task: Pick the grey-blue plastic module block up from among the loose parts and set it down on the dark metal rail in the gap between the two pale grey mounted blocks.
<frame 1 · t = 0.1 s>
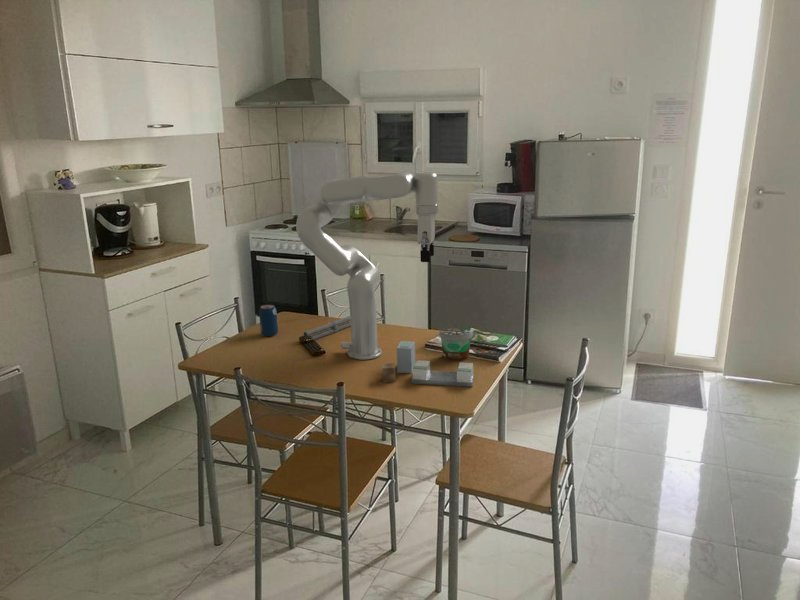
hand: (427, 258, 227), 37 cm above the table, tool pointing down, fingers open, 9 cm apart
rail: (443, 380, 217), on the table
soda can: (269, 335, 266), on the table
food container: (456, 359, 236), on the table
black knob: (463, 372, 223), on the table
metal rod assembly: (329, 335, 265), on the table
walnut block: (389, 379, 219), on the table
grey-blue module block: (406, 369, 227), on the table
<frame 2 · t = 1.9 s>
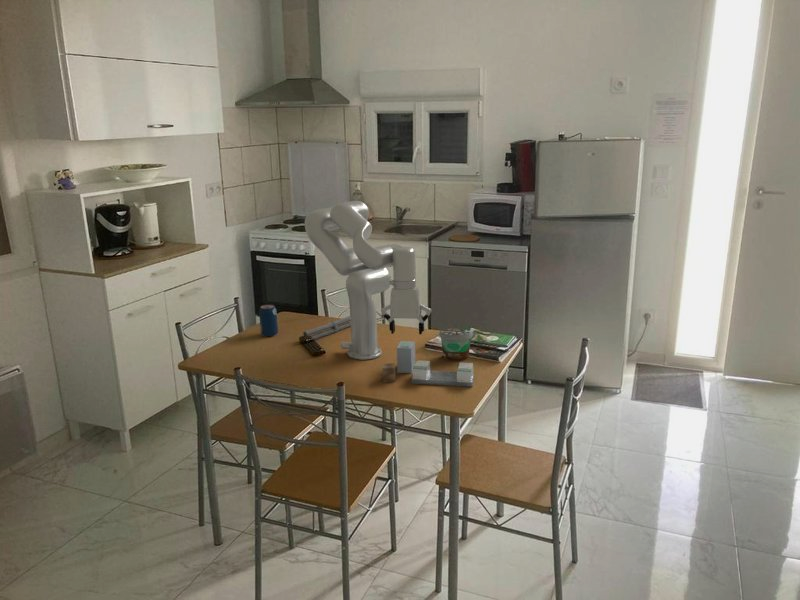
hand: (407, 332, 223), 13 cm above the table, tool pointing down, fingers open, 9 cm apart
nothing on the table moved.
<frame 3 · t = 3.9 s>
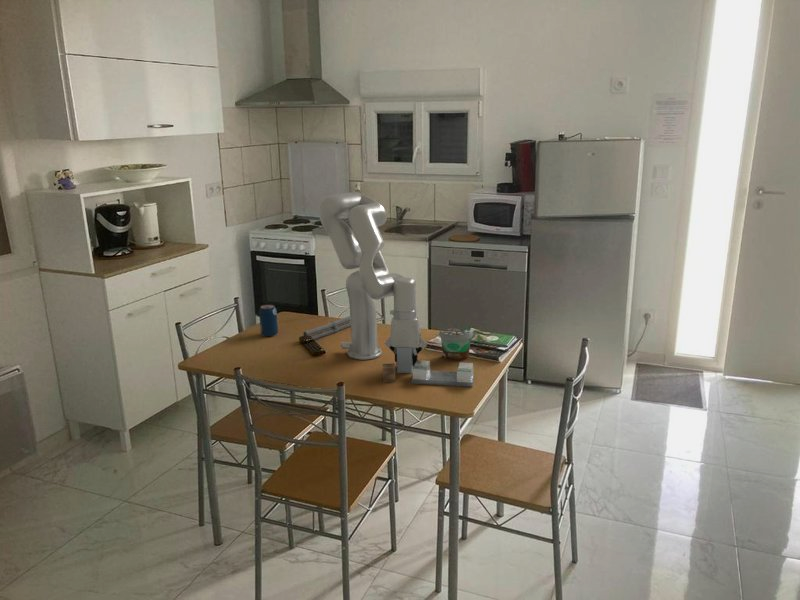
hand: (406, 363, 227), 2 cm above the table, tool pointing down, fingers closed on grey-blue module block, 5 cm apart
grey-blue module block: (406, 368, 227), on the table, touching gripper
everything else where it was.
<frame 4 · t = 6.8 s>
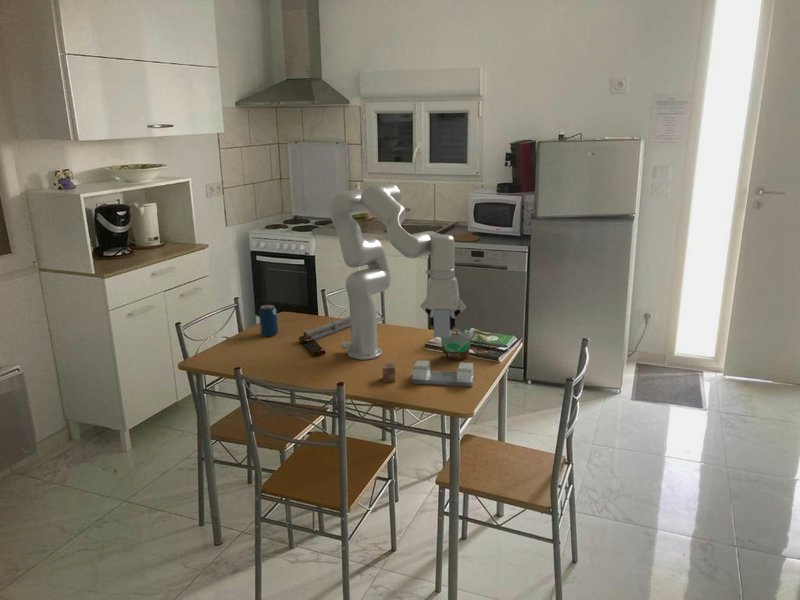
hand: (443, 327, 212), 18 cm above the table, tool pointing down, fingers closed on grey-blue module block, 5 cm apart
grey-blue module block: (443, 333, 213), point 16 cm above the table, touching gripper
everything else where it was.
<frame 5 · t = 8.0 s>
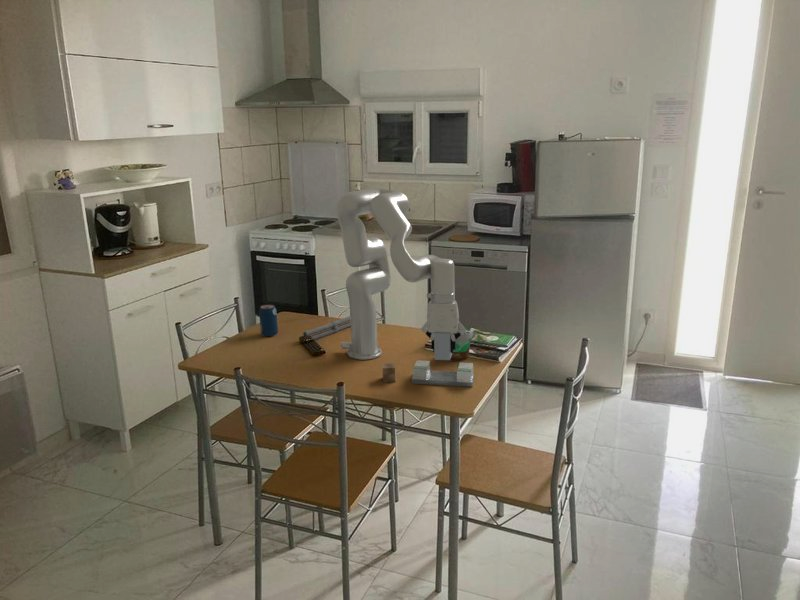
hand: (443, 350, 214), 11 cm above the table, tool pointing down, fingers closed on grey-blue module block, 5 cm apart
grey-blue module block: (443, 356, 215), point 9 cm above the table, touching gripper
everything else where it was.
when the fingers open (5 cm above the table, at t = 9.8 s): grey-blue module block drops 2 cm, resting on rail.
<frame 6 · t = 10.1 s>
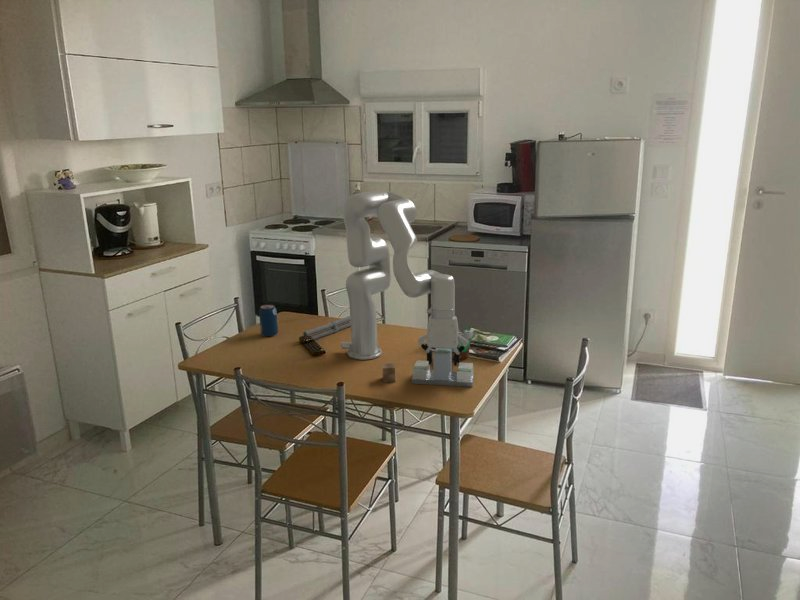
hand: (443, 363, 216), 6 cm above the table, tool pointing down, fingers open, 8 cm apart
grey-blue module block: (442, 376, 217), point 1 cm above the table, touching rail
everything else where it was.
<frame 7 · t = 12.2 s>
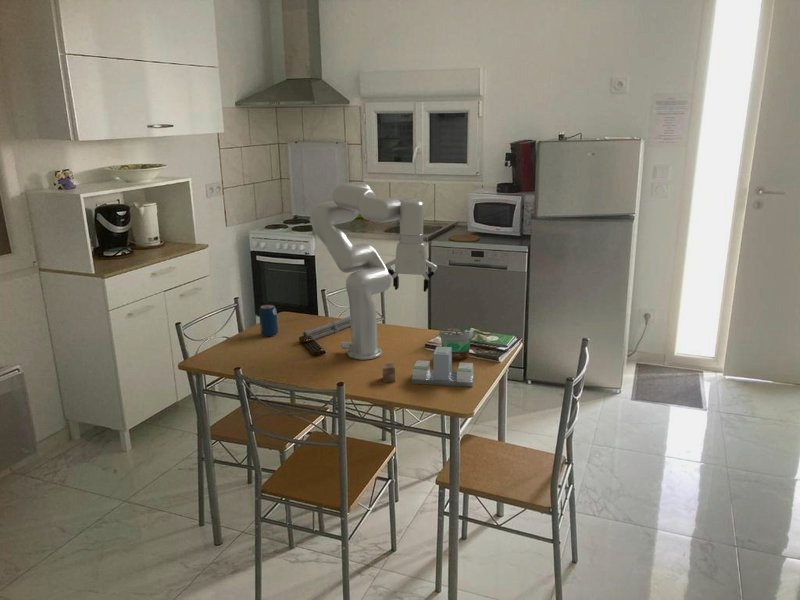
hand: (411, 289, 217), 29 cm above the table, tool pointing down, fingers open, 9 cm apart
nothing on the table moved.
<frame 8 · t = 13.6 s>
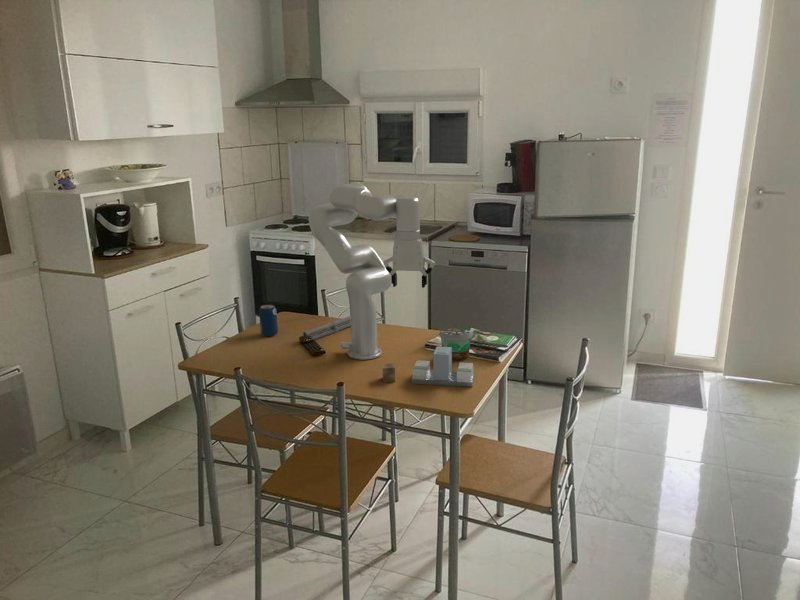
hand: (409, 286, 217), 30 cm above the table, tool pointing down, fingers open, 9 cm apart
nothing on the table moved.
at the end: grey-blue module block inside the target area on the rail (0.1 cm from its centre), point 1.5 cm above the rail's base; grey-blue module block tilted 0°; the gripper is holding nothing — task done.
